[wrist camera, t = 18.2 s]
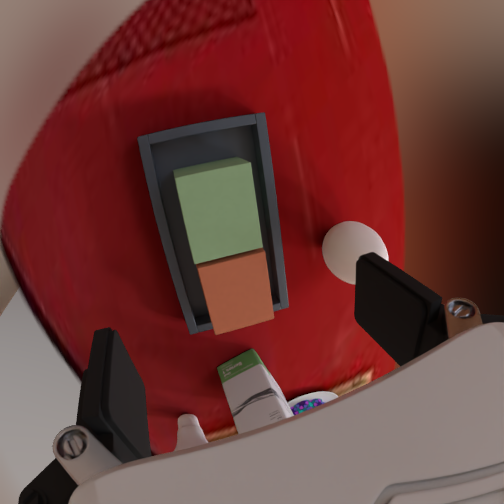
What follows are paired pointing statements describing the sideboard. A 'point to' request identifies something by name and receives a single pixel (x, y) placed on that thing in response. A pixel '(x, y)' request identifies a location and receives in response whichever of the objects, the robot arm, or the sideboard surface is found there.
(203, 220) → the green block
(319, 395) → the patterned bowl
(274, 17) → the sideboard surface
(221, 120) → the holder
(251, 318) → the orange block
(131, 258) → the sideboard surface
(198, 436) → the lightbulb
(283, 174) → the sideboard surface
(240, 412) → the ink box
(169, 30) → the sideboard surface
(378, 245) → the egg
